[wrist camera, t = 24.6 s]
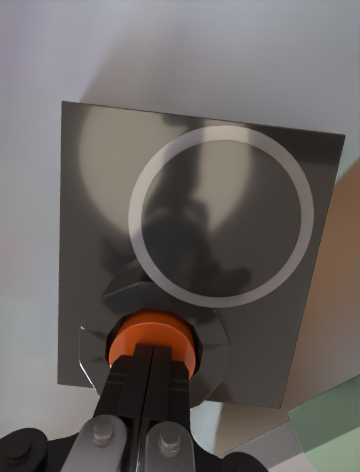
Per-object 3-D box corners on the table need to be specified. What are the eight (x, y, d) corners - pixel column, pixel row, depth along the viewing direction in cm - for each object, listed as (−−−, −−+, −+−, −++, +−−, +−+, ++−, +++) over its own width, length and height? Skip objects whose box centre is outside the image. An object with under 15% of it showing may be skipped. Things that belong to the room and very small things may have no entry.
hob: (74, 107, 13) (36, 87, 10) (328, 138, 13) (378, 127, 10) (68, 365, 16) (38, 416, 13) (272, 388, 17) (294, 444, 13)
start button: (122, 294, 13) (111, 317, 11) (198, 302, 13) (201, 327, 11) (117, 360, 14) (106, 393, 12) (189, 368, 14) (190, 402, 12)
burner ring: (135, 114, 10) (135, 113, 10) (332, 137, 10) (335, 137, 10) (122, 296, 12) (121, 298, 11) (291, 315, 12) (293, 318, 11)
